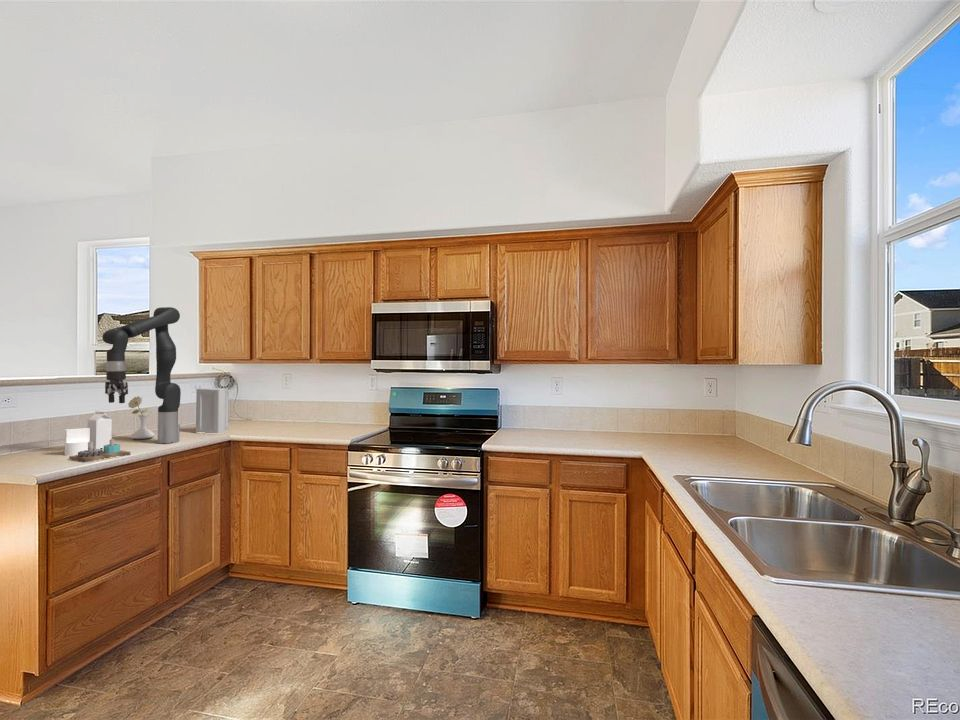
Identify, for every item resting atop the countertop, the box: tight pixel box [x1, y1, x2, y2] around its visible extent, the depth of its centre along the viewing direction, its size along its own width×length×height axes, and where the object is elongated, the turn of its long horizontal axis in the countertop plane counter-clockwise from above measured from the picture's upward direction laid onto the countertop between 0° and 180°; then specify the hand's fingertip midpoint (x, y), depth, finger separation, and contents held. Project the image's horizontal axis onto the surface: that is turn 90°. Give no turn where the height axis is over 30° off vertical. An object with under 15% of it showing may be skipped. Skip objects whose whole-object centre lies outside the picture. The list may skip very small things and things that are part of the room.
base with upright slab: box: [64, 427, 90, 456], centre depth 218 cm, size 9×9×12 cm
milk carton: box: [87, 410, 113, 450], centre depth 232 cm, size 7×7×19 cm
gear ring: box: [102, 443, 121, 454], centre depth 214 cm, size 6×6×4 cm
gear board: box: [68, 438, 131, 463], centre depth 210 cm, size 18×13×8 cm
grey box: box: [195, 387, 230, 433], centre depth 289 cm, size 19×15×28 cm
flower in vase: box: [127, 396, 156, 440], centre depth 262 cm, size 13×11×25 cm
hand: (116, 402), depth 223 cm, fingers open, 8 cm apart
